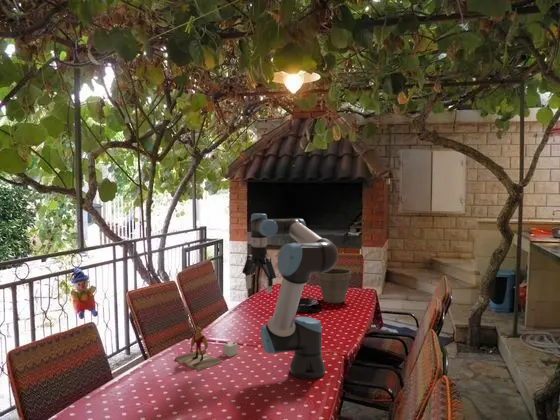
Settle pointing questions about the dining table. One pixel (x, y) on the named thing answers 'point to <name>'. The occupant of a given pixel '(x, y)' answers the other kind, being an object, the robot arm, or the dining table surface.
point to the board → (198, 360)
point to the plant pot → (334, 284)
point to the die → (230, 349)
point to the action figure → (199, 343)
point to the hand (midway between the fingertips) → (258, 290)
